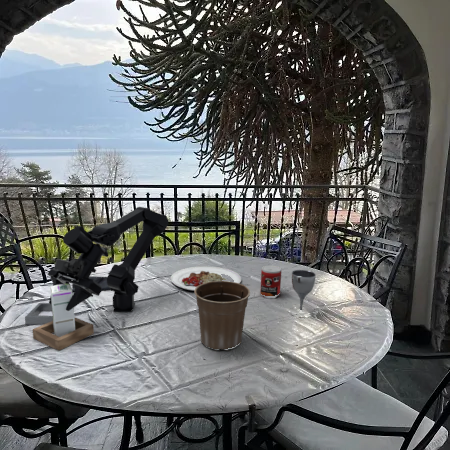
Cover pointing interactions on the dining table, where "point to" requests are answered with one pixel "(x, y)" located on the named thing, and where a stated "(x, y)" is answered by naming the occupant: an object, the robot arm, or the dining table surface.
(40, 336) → the brown wooden square frame
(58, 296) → the syrup box
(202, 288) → the plant pot
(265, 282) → the canned food
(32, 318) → the holder
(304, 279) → the grey funnel
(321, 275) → the dining table surface
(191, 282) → the plated food
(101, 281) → the dark slate chunk
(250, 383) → the dining table surface
